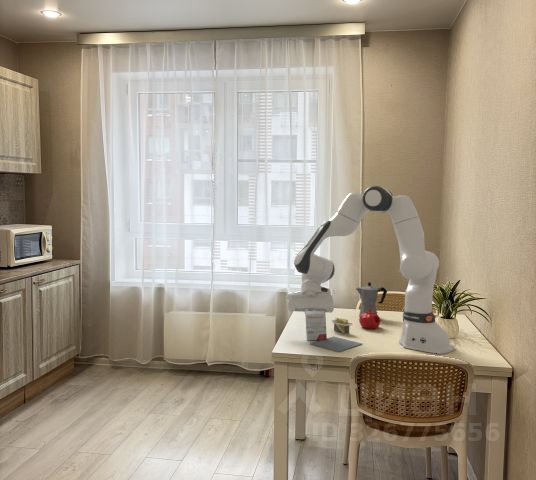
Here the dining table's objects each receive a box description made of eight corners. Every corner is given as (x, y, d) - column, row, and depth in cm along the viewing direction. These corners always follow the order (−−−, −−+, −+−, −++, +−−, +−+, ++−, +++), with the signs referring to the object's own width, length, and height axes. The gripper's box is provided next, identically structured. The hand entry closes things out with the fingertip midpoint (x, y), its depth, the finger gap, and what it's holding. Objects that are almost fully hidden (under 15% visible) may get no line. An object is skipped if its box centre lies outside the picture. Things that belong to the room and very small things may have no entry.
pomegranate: (358, 329, 255) (358, 310, 254) (359, 324, 264) (359, 305, 263) (380, 331, 252) (380, 311, 251) (380, 325, 262) (381, 306, 261)
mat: (362, 344, 230) (362, 343, 230) (338, 352, 219) (338, 351, 218) (333, 337, 240) (333, 336, 240) (310, 344, 229) (310, 343, 229)
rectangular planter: (351, 339, 239) (351, 324, 238) (316, 332, 250) (316, 318, 249) (364, 334, 248) (365, 319, 247) (330, 327, 259) (330, 313, 258)
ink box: (326, 335, 239) (325, 309, 236) (326, 340, 234) (325, 313, 231) (306, 335, 239) (305, 310, 237) (306, 340, 235) (305, 314, 232)
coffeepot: (356, 319, 274) (357, 283, 272) (354, 314, 283) (355, 280, 281) (387, 320, 273) (388, 284, 271) (384, 315, 282) (385, 281, 280)
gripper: (287, 288, 245) (286, 314, 236) (333, 289, 244) (334, 316, 235) (287, 295, 250) (286, 322, 241) (333, 297, 248) (333, 323, 240)
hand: (310, 319), depth 238 cm, fingers closed
